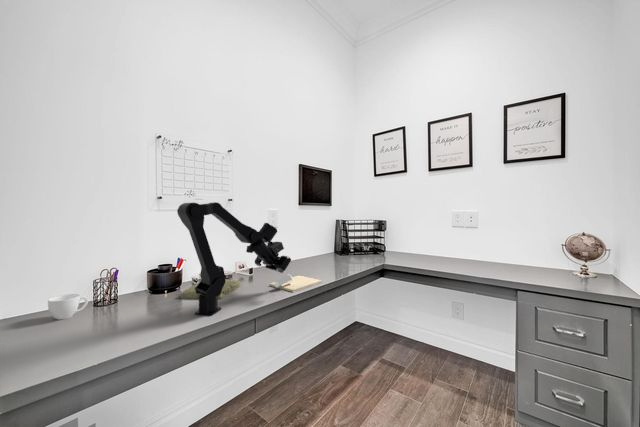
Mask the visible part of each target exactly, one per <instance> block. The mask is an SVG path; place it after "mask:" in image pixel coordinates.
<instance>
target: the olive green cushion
mask: <svg viewBox="0 0 640 427" xmlns="http://www.w3.org/2000/svg"><path fill="white" fill-rule="evenodd" d="M225 280H226V282H225V284H224V286H223V288H222V292H221V295H219V296H218V300H222V299H223V298H224V297H225V296H227V295H229V294H232V293H234V292H235V291H237V290H238V289H239V288H241V287H242V283H241V281H240V280H229V279H225ZM199 283H200V282H199ZM199 283H196V284H194V285H192V286H190V287H189V288H187V289H184V290H183V291H182V292H181V293H180V299H186V300H187V299H189V300H191V299H193V300H199V296H200V294H197V293H196V291H195V287H196V286H197V285H198V284H199Z"/></svg>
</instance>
